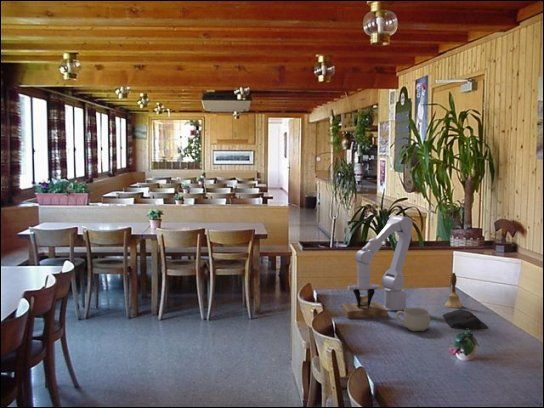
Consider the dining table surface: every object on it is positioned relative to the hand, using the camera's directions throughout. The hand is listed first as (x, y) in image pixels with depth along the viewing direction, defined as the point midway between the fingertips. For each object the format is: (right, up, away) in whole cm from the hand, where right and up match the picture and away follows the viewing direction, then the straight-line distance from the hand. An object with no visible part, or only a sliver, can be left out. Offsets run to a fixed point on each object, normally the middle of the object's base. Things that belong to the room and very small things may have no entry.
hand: (363, 305), depth 274 cm
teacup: (+17, -6, -26) cm, 31 cm away
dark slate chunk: (+41, -5, -17) cm, 44 cm away
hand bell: (+45, -2, +10) cm, 46 cm away
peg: (0, -3, 0) cm, 3 cm away
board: (0, -4, 0) cm, 4 cm away
